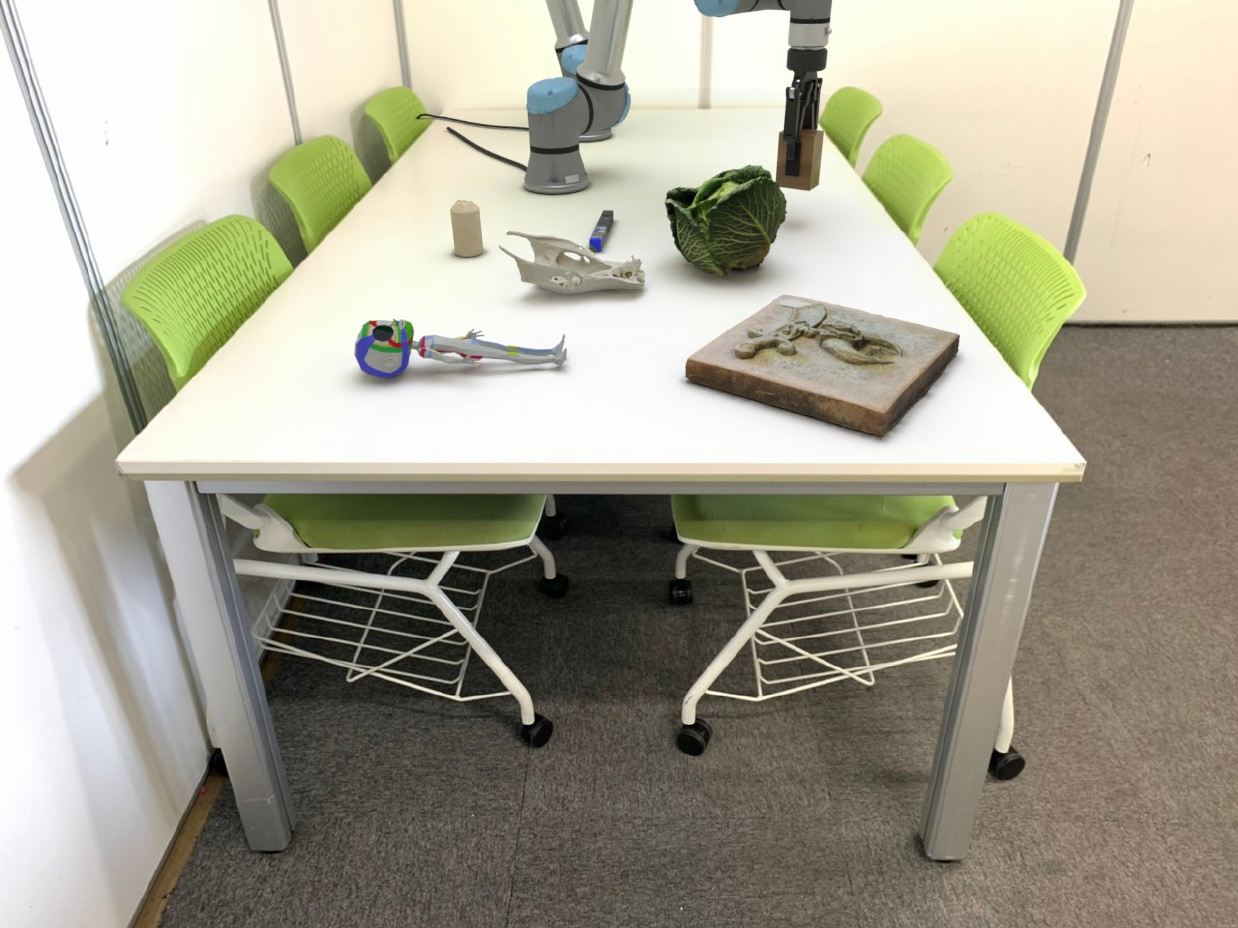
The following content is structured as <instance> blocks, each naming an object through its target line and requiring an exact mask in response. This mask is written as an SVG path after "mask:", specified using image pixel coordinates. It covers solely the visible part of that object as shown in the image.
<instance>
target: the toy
mask: <svg viewBox="0 0 1238 928" xmlns="http://www.w3.org/2000/svg"><path fill="white" fill-rule="evenodd" d="M474 331H475V328H472V329H471V330H469V331H468V332H467V333H466V334H465V335H463V336H458V337H449V336H448V337H447V336H442V335H439V334H428V335H423V336H421V338H420V339H419V341H417V340H414V336H415V329H414V326H413V324H412V322H410V321H408V320H407V319H399V320H397V319H395V318H392V320H387V319H379V320H368V321H367V322H365V323H364V324H362V326H361V329H360V331H359V333H358V334H357V338H356V340H355V342H354V354H353V355H354V357H355V359H356V362H357V364H358V366H359V369H360V370H361V372H364V373H366V374H367V375H370V376H373V377H377V378H382V379H383V378H384V379H392V378H394V377H396V376H398V375H400V374H401V375H402V374H403V372H404V371H405V370H406V368H407V367H408V366H409V364H410V357H411V355H412V350H415V351H417V353H418V356H419V357H421V358H422V359H430V360H434V361H438V362H442V363H444V364H449V365H458V364H459V365H461V364H465V365H471V366H477V367H479V368H480V367H481V366H482V365H483V363H482V362H478V361H480V360H482V359H487V360H488V359H489V360H503V361H509V362H514V363H517V364H520V365H528V366H529V365H542V364H550V363H553V364H555V365H557V366H559V367H562V366H563V364H564V362H565V361H566V360H567V357H568V355H567V353H568V348H566V347H565V348H564V345H565V340H566V334H565V333H563V334H562V338H561V340H560V341H559V343H558V344H556V345H555V346H554V347H552V348H533V347H532V348H531V347H523V346H518V345H517V346H516V345H504V344H501V343H498V342H494V341H488V340H482V339H478V338H479V337H480V338H481V337H485V334H480V333H482V332H483V331H482V330H479V331H476V332H474ZM563 349H564V350H563ZM453 353H455V354H457V355H459V357H458V356H455V355H448V354H453ZM445 354H447V355H445Z"/></svg>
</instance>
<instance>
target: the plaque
mask: <svg viewBox="0 0 1238 928" xmlns="http://www.w3.org/2000/svg"><path fill="white" fill-rule="evenodd" d="M960 338H961V335H960V334H959V333H955V332H952V331H948V330H945V329H939V328H936V327H931V326H927V325H923V324H920V323H916V322H911V321H907V320H906V321H905V320H901V319H898V318H895V317H887V316H884V315H881V314H874V313H871V312H867V311H865V310H861V309H856V308H852V307H848V306H844V305H840V304H834V303H830V302H826V301H823V300H822V301H821V300H817V299H811V298H807V297H801V296H796V295H791V294H781V295H779V296H778V297H776V298H775V299H773V300H772V301H771V302H770V303H768V304H767V305H765V306H763V307H762V308H761V309H759V310H758V311H757V312H755V313H753V314H751V315H750V316H749V317H747V318H746V319H743V320H742V321H741V322H739V323H738V324H735V325H734V326H733V327H731V328H729V329H728V330H726V331H724V332H723V333H721V334H720V335H719V336H717V337H716V338H714V339H713V340H711V341H710V342H708V343H707V344H705V345H704V346H702V347H701V348H699V349H697V350H696V351H695V352H694V353H693V354H691V355H690V356H689V357H688V358H687V360H686V362H685V367H684V368H685V371H684V372H685V374H684V375H685V376H684V377H685V378H686V379H688V380H689V381H691V382H693V383H697V384H700V385H704V386H707V387H710V388H713V389H716V390H720V391H725V392H728V393H730V394H733V395H737V396H742V397H745V398H747V399H751V400H755V401H758V402H761V403H764V404H767V405H770V406H774V407H777V408H782V409H784V410H785V409H786V410H789V411H792V412H795V413H798V414H800V415H802V416H803V415H804V416H809V417H812V418H816V419H820V420H823V421H826V422H829V423H833V424H836V425H839V426H841V427H845V428H849V429H852V430H856V431H860V432H864V433H867V434H874V435H877V436H879V437H881V438H882V437H883V436H884V435H885V433H887V432H888V431H890V430H891V429H893V428H894V427H895V426H896V425H897V424H898V423H900V421H901V420H902V419H903V418H904V416H905V415H906V413H908V411H909V410H910V409H911V407H913V406H914V405H915V403H916V402H918V400H919V399H920V398H921V397H923V396H925V395H926V394H927V393H928V391H930V389H931V387H932V386H933V384H934V383H935V382H936V381H937V380H938V379H939V378H940V377H941V376H942V375H943V373H944V371H945V369H946V368H947V366H948V364H949V363H950V362H951V361H952V359H953V358H954V357H955V356H956V355H957V354H958V353H959V346H960Z"/></svg>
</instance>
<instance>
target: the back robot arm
mask: <svg viewBox="0 0 1238 928" xmlns="http://www.w3.org/2000/svg"><path fill="white" fill-rule="evenodd" d="M544 1H545V3H546V7H547V10H548V15H549V17H550V21H551V24H552V27H553V30H554V34H555V36H556V40H555V43H554V46H553V48H554V52H555V54H556V58H557V61H558V64H559V67H560V73H561V77H569V78H572V79H574V80H575V78H576V71H577V67H578V66H579V65H580V64H581V63H583V62H584V61H585V56H586V50H587V44H588V38H589V31H588V30H587V29H586V26H585V23H584V20H583V19H584V18H583V16H582V13H581V9H580V5H579V2H578V0H544ZM421 117H429V118H433V119H440V120H441V119H442V120H447V121H453V122H458V123H463V124H467V125H472V126H478V127H484V128H492V129H493V128H495V129H508V130H523V131H529V127H526V126H525V127H524V126H513V125H512V126H511V125H510V126H509V125H495V124H486V123H479V122H473V121H467V120H465V119H458V118H453V117H448V116H444V115H443V116H441V115H435V114H431V113H420V114H418V115H417V116H416V117H415V119H417V120H418V119H420V118H421ZM610 138H612V128H610V129H608V130H604V131H601V130H600V131H596V132H592V133H587V134H583V135H579V143H580V142H581V143H583V142H584V143H585V142H586V143H587V142H599V141H603V140H607V139H610Z"/></svg>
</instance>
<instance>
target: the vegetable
mask: <svg viewBox="0 0 1238 928" xmlns="http://www.w3.org/2000/svg"><path fill="white" fill-rule="evenodd" d="M665 196H666V197H665V199H664V205H665V208H666V209H665V210H666V218H667V219H668V221H669V222H670V224H669V228H670V231H671V236H672V238H673V239H674V240H673V243H674V245H675V247H676V249H677V250H678V252H680V255H681V256H682V257H683V258H684V259H685V261H686V262H687V263H688V264H689V263H691V264H692V265H693V266H694V267H695V268H696V269H699V270H700V271H702V272H704V273H708V274H714V275H715V274H716V275H718V276H719V277H721V278H723V277H724V276H730V274H729V273H728V272H729V271H732V270H734V269H740V268H742V269H747V268H748V267H754V268H756V267H757V268H760V266H761V264H763V263H764V261H765V258H766V257H767V256H768V255H769V253H770V250H771V245H772V244H774V243H775V241H776V239H777V236H778V235H777V234H778V231H779V229H780V227H781V225H782V224H783V223H784V222H786V218H787V216H786V214H787V213H788V211H787V203H788V201H787V199H786V196H785V194H784V192H783V191H782V189H781V187H779V184H778V183H777V182H776V180H774V179H773V176H772V173H771V171H770V170H768V169H765V168H763V165H755V164H754V165H751V164H748V165H745V166H743V167H742V168H732V169H729V170H723V171H721V172H720V173H718V174H716V175H714V176H713V177H711V178H709V179H707V180H704V181H703V182H702V184H701V185H700V186H698V187H684V186H677V187H674V188H672V189H670V190H668V191H667V192H666V194H665Z"/></svg>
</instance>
